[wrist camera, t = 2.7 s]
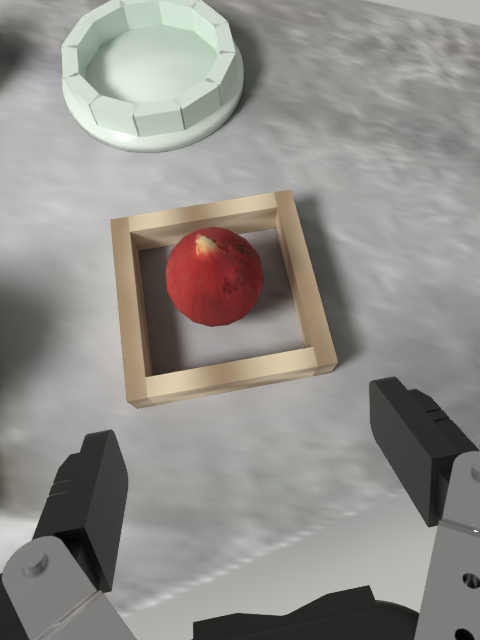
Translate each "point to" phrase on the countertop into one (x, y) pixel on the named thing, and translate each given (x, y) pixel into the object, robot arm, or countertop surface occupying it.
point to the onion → (214, 276)
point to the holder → (231, 375)
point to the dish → (151, 73)
